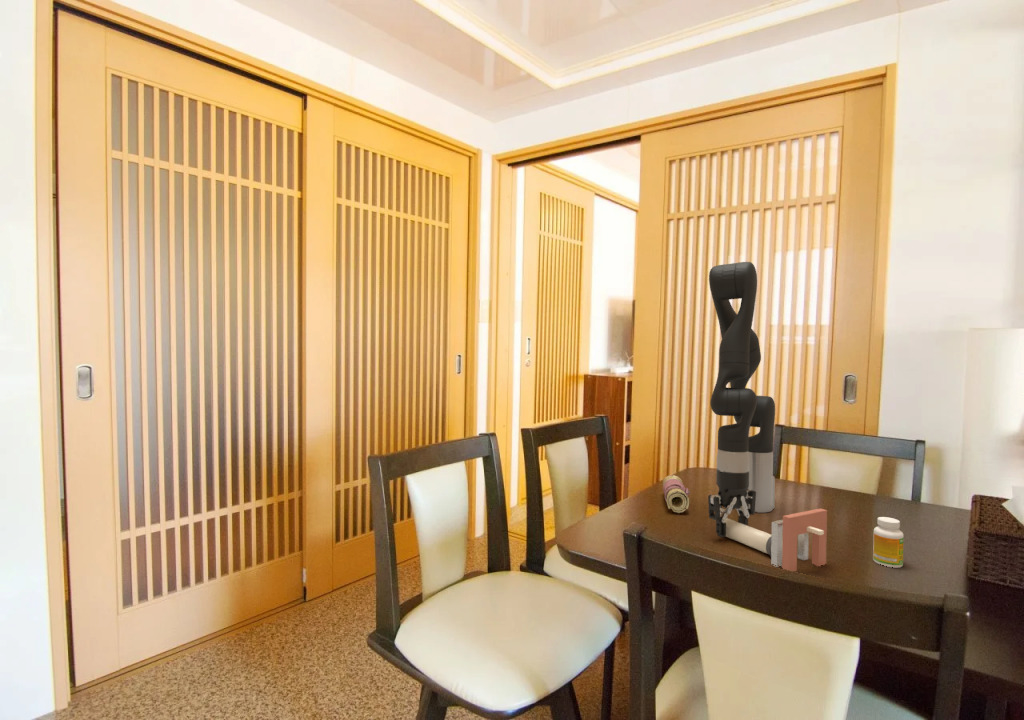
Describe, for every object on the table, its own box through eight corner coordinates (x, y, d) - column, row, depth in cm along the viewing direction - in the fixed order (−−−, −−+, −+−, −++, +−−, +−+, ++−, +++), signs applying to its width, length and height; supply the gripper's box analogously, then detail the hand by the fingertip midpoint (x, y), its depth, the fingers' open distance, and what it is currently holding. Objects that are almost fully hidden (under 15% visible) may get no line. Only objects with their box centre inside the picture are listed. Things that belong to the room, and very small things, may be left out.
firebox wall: (819, 561, 116) (820, 508, 116) (839, 569, 112) (840, 514, 112) (782, 571, 111) (782, 515, 111) (801, 580, 107) (802, 522, 106)
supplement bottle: (904, 570, 112) (905, 525, 111) (873, 565, 114) (874, 520, 114) (901, 561, 116) (902, 518, 116) (872, 556, 119) (873, 514, 119)
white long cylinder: (719, 538, 131) (717, 520, 131) (732, 533, 133) (731, 515, 133) (774, 561, 117) (773, 541, 116) (788, 555, 119) (787, 536, 118)
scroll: (697, 511, 147) (691, 492, 166) (685, 486, 147) (681, 470, 167) (671, 520, 149) (669, 500, 168) (660, 496, 149) (659, 478, 168)
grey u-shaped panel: (802, 556, 119) (802, 515, 118) (808, 559, 117) (808, 517, 117) (771, 564, 115) (771, 521, 114) (777, 567, 113) (777, 523, 113)
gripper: (741, 462, 136) (740, 525, 137) (699, 467, 130) (698, 533, 131) (766, 468, 130) (765, 534, 130) (723, 474, 124) (722, 544, 124)
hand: (731, 533), depth 130 cm, fingers open, 6 cm apart
